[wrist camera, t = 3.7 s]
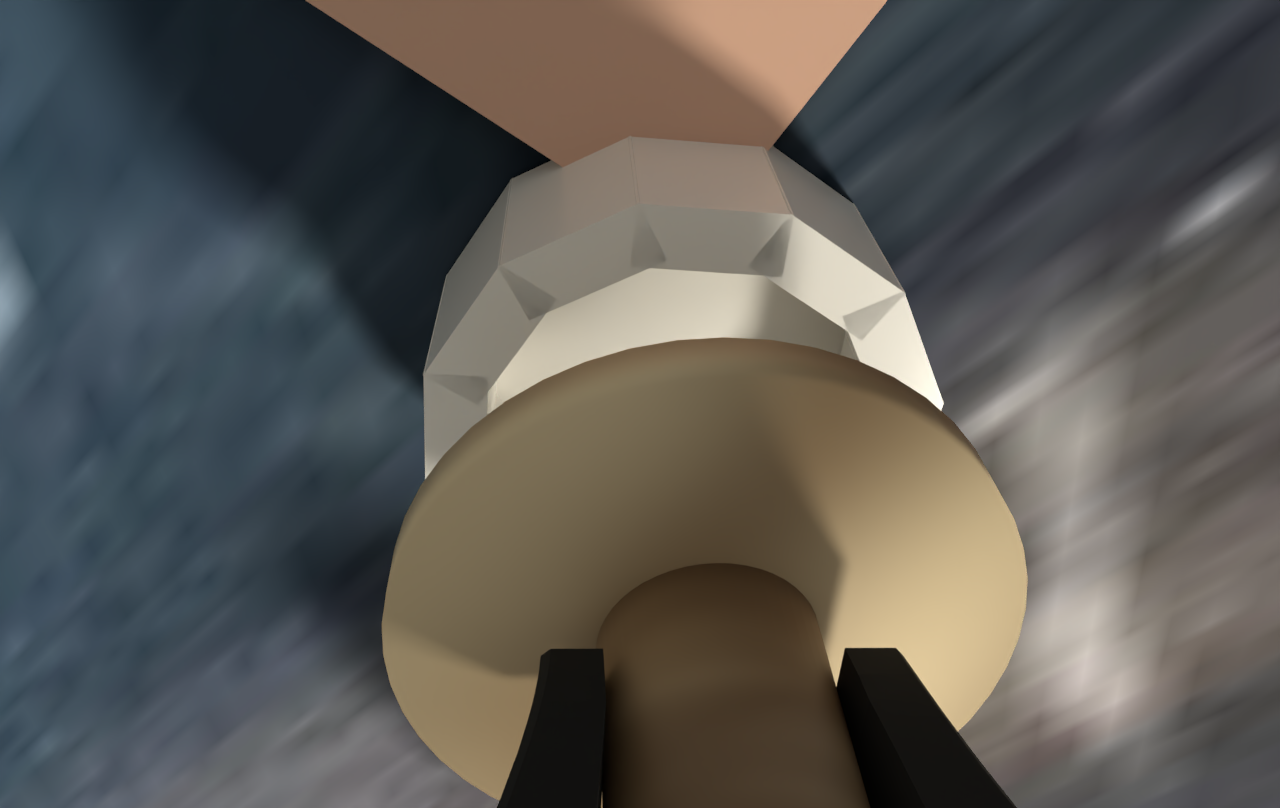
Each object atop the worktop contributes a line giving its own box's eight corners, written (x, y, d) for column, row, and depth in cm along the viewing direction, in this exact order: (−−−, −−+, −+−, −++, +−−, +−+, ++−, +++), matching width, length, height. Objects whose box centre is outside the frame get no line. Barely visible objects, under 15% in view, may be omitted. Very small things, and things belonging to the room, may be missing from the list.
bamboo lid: (1102, 376, 12) (1334, 665, 9) (899, 803, 17) (996, 1115, 13) (403, 298, 11) (327, 594, 7) (381, 779, 15) (326, 1114, 12)
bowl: (974, 289, 20) (1041, 387, 17) (706, 568, 24) (724, 689, 21) (611, 28, 17) (618, 93, 14) (366, 392, 21) (332, 504, 18)
